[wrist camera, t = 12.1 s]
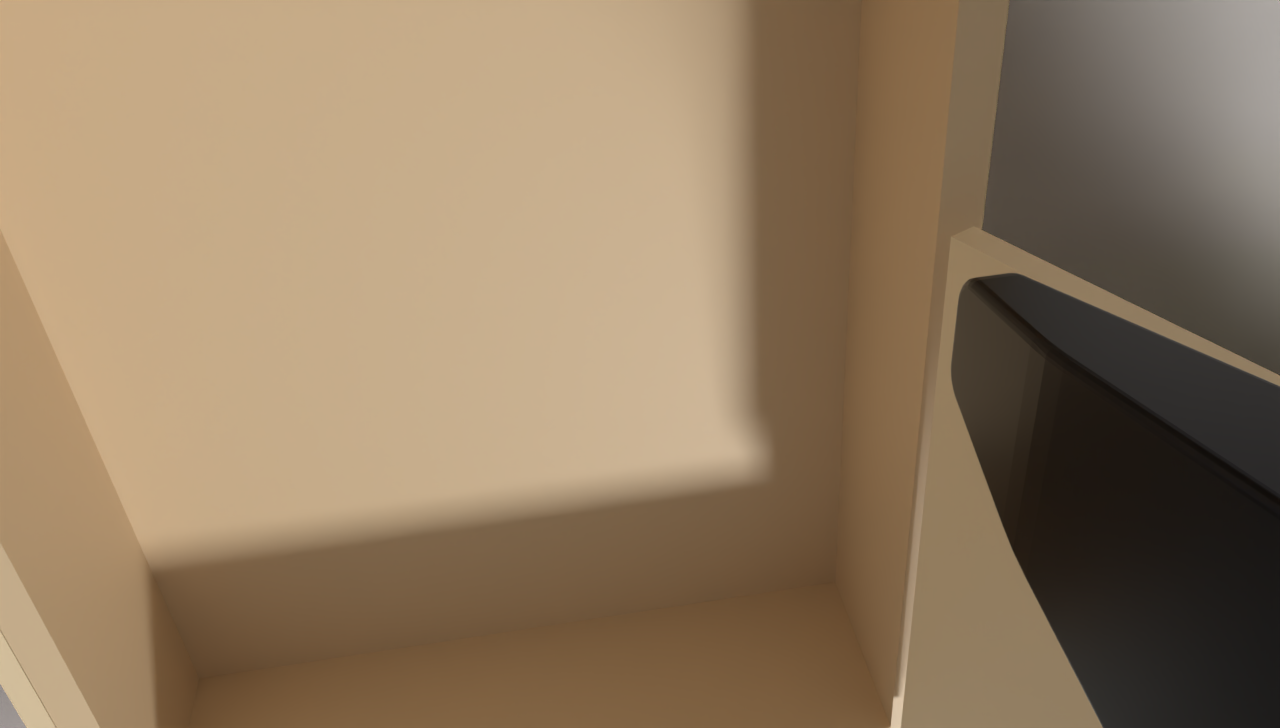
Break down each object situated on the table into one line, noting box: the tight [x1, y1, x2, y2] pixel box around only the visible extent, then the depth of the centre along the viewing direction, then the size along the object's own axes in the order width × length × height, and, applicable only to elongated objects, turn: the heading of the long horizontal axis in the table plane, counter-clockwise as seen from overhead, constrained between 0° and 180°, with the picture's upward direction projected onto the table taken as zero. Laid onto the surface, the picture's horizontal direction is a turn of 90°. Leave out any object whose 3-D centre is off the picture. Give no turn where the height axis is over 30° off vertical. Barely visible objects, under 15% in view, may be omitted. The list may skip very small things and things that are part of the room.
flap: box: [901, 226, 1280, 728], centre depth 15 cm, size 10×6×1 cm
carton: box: [0, 0, 1010, 728], centre depth 17 cm, size 18×14×4 cm
